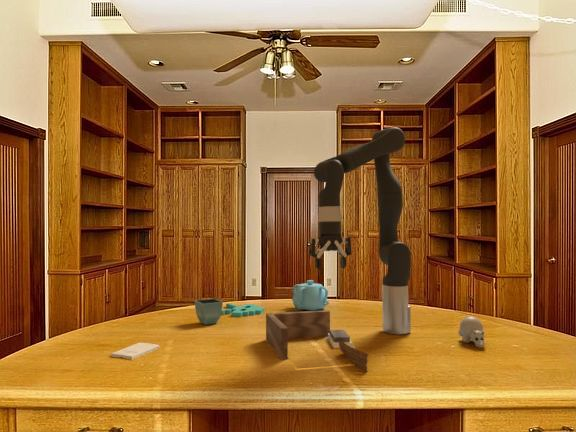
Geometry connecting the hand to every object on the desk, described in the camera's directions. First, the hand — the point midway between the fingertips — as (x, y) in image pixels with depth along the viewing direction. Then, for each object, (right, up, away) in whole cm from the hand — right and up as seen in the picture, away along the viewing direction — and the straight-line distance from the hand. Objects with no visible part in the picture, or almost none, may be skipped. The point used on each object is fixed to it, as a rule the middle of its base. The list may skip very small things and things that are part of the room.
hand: (330, 269), depth 141 cm
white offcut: (+3, -24, -1) cm, 24 cm away
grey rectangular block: (+3, -23, -1) cm, 23 cm away
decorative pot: (-4, -26, +57) cm, 63 cm away
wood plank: (+5, -25, -20) cm, 32 cm away
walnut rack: (-9, -25, -4) cm, 27 cm away
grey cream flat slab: (+3, -26, -1) cm, 26 cm away
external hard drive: (-62, -25, -10) cm, 67 cm away
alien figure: (-36, -27, +51) cm, 68 cm away
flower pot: (-46, -26, +29) cm, 60 cm away
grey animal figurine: (+47, -25, -1) cm, 53 cm away
